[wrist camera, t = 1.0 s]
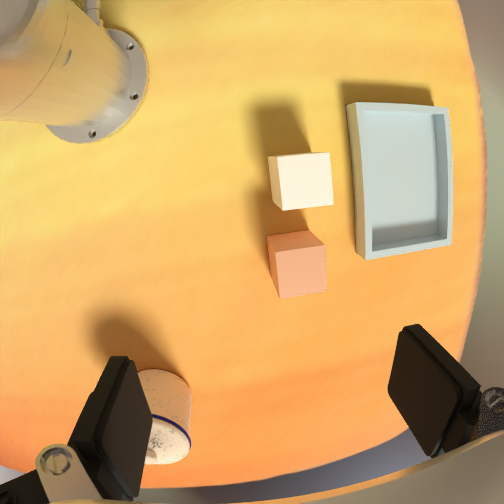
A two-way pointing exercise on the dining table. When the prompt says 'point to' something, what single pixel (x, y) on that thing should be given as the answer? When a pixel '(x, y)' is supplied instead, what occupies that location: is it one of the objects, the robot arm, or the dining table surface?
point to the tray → (400, 177)
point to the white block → (301, 180)
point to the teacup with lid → (167, 416)
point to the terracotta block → (297, 263)
